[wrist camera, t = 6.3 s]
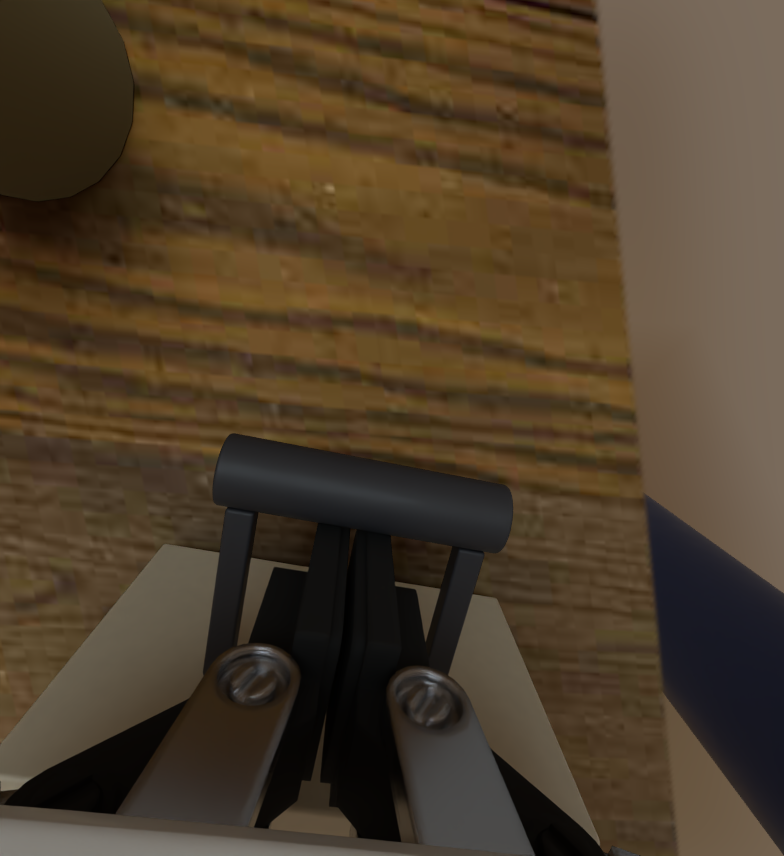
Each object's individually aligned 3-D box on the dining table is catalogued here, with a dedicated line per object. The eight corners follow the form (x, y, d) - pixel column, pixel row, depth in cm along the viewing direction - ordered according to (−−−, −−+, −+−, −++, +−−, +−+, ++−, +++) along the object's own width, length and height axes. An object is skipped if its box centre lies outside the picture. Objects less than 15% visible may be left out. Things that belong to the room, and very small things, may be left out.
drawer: (181, 369, 14) (-31, 457, 7) (546, 443, 15) (719, 588, 8) (131, 841, 19) (-23, 1201, 11) (410, 869, 20) (436, 1212, 13)
